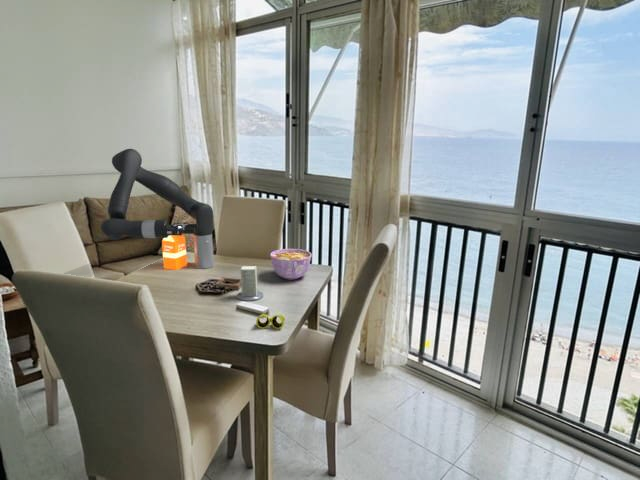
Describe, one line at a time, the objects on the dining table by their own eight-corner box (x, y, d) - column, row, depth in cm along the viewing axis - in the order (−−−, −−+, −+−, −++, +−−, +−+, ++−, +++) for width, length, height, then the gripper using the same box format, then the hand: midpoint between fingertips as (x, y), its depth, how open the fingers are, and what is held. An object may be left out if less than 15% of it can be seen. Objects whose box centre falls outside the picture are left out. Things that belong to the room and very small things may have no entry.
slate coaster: (242, 290, 174) (242, 289, 174) (266, 292, 172) (266, 291, 172) (232, 300, 163) (232, 298, 163) (258, 302, 162) (258, 300, 162)
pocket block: (222, 281, 185) (222, 277, 184) (245, 283, 183) (245, 279, 182) (214, 288, 176) (214, 283, 176) (238, 290, 174) (237, 285, 174)
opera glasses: (284, 326, 144) (285, 312, 143) (283, 330, 138) (283, 315, 138) (258, 325, 144) (258, 311, 143) (255, 329, 138) (256, 315, 138)
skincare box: (257, 292, 170) (257, 266, 167) (256, 296, 166) (255, 269, 163) (243, 292, 170) (242, 265, 167) (241, 296, 165) (240, 269, 163)
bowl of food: (306, 285, 181) (306, 261, 179) (264, 281, 185) (264, 258, 182) (315, 272, 200) (315, 250, 198) (277, 269, 204) (277, 247, 201)
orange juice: (163, 268, 202) (160, 230, 197) (174, 263, 210) (172, 226, 205) (176, 269, 199) (174, 231, 195) (187, 264, 208) (184, 227, 203)
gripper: (150, 223, 155) (192, 223, 158) (159, 216, 169) (198, 216, 171) (151, 242, 157) (193, 241, 159) (160, 233, 171) (199, 233, 173)
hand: (196, 228), depth 165 cm, fingers open, 8 cm apart
